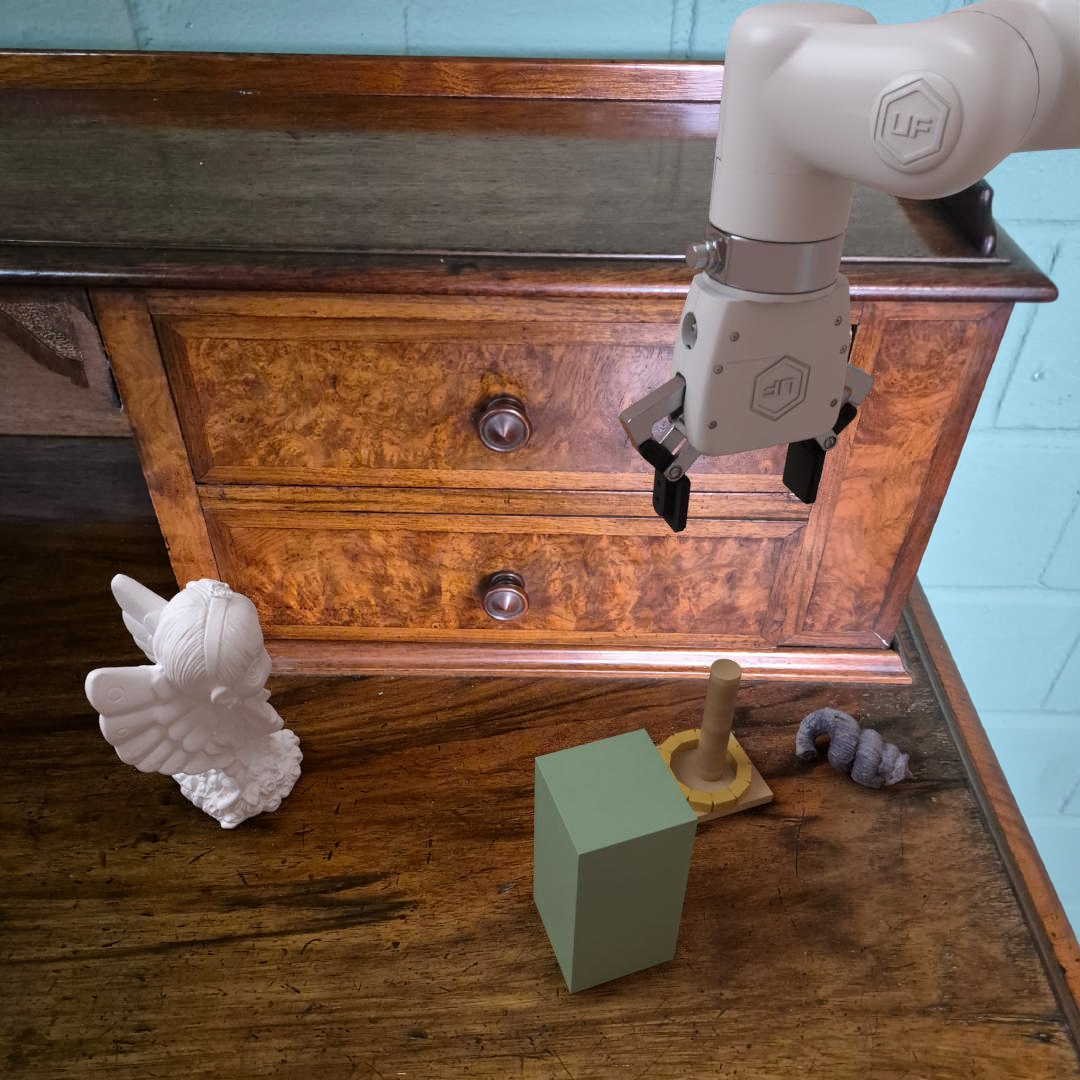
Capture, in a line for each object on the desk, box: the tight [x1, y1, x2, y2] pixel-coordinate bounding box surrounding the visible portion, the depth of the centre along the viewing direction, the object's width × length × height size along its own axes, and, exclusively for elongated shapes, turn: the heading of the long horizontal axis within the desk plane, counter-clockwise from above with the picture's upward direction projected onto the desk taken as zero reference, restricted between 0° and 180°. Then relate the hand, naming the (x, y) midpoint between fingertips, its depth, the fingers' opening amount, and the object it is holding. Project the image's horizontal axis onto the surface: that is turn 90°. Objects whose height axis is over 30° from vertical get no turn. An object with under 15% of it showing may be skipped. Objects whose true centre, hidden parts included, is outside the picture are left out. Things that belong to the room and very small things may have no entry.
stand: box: [532, 728, 698, 995], centre depth 66 cm, size 8×8×16 cm
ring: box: [658, 728, 752, 813], centre depth 81 cm, size 8×8×1 cm
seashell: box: [795, 706, 914, 789], centre depth 82 cm, size 5×5×10 cm
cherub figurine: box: [84, 573, 304, 830], centre depth 75 cm, size 13×12×20 cm
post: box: [655, 658, 774, 825], centre depth 78 cm, size 8×8×13 cm
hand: (735, 506), depth 63 cm, fingers open, 9 cm apart
